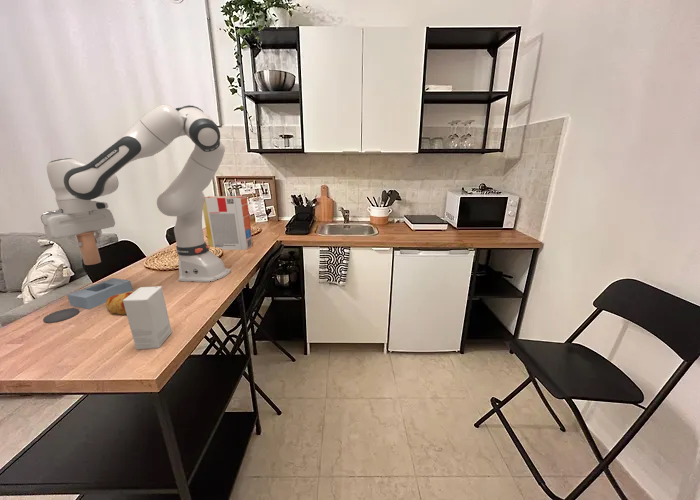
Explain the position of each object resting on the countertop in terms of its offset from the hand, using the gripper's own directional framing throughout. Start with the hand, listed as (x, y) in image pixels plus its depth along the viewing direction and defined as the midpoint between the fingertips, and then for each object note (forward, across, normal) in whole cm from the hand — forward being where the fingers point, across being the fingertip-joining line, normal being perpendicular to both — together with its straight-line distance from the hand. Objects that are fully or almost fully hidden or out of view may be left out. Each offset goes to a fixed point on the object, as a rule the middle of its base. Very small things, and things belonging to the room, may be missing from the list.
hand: (88, 244), depth 108 cm
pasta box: (+22, +69, -2) cm, 73 cm away
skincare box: (+23, -16, -45) cm, 53 cm away
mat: (+21, -14, 0) cm, 26 cm away
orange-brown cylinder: (+7, 0, +1) cm, 7 cm away
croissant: (+22, -4, -18) cm, 29 cm away
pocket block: (+21, 0, +1) cm, 21 cm away
